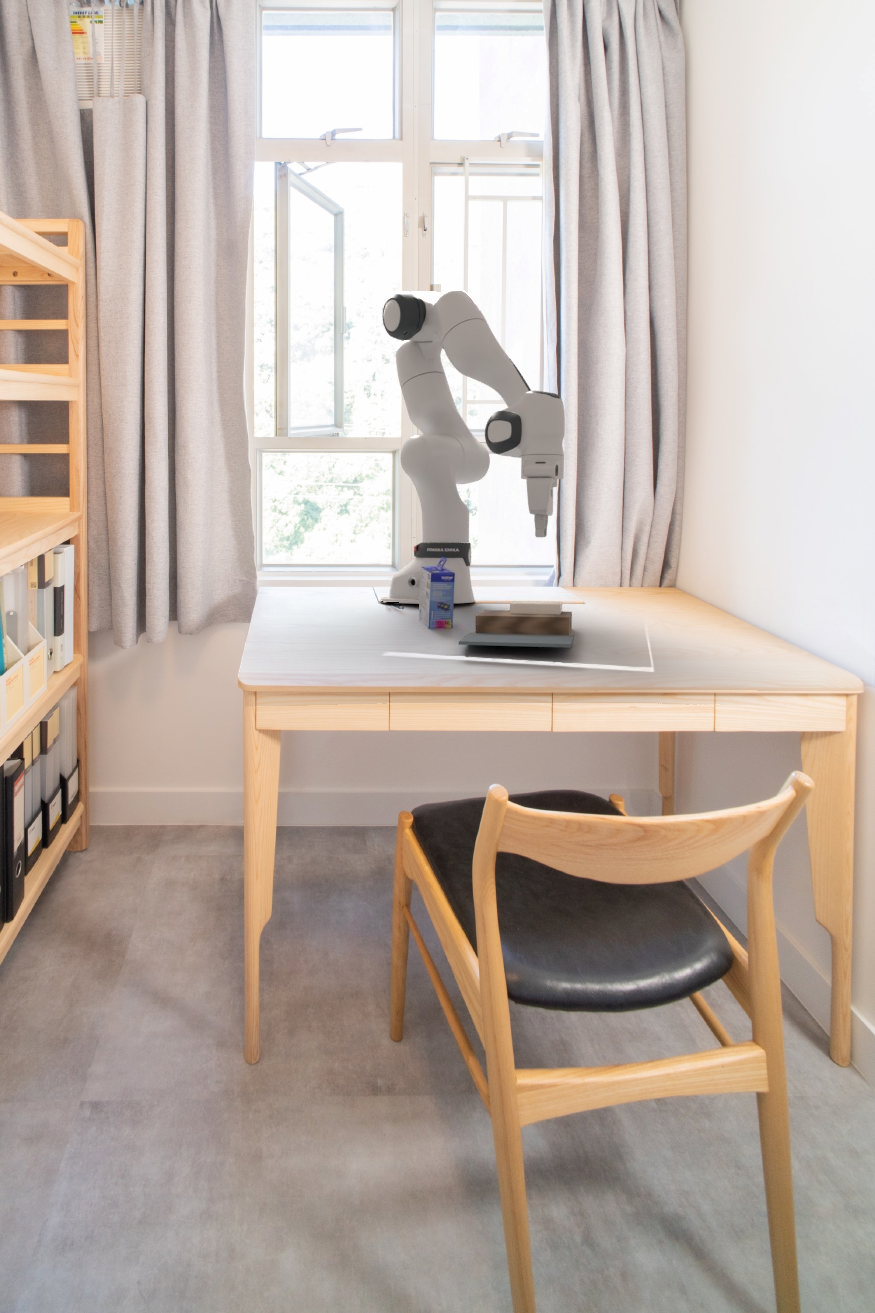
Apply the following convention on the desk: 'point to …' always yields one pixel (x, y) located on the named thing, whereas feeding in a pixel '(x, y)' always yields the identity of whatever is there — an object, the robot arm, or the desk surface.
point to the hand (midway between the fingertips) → (541, 537)
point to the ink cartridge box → (436, 596)
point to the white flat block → (535, 607)
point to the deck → (523, 623)
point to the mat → (517, 640)
